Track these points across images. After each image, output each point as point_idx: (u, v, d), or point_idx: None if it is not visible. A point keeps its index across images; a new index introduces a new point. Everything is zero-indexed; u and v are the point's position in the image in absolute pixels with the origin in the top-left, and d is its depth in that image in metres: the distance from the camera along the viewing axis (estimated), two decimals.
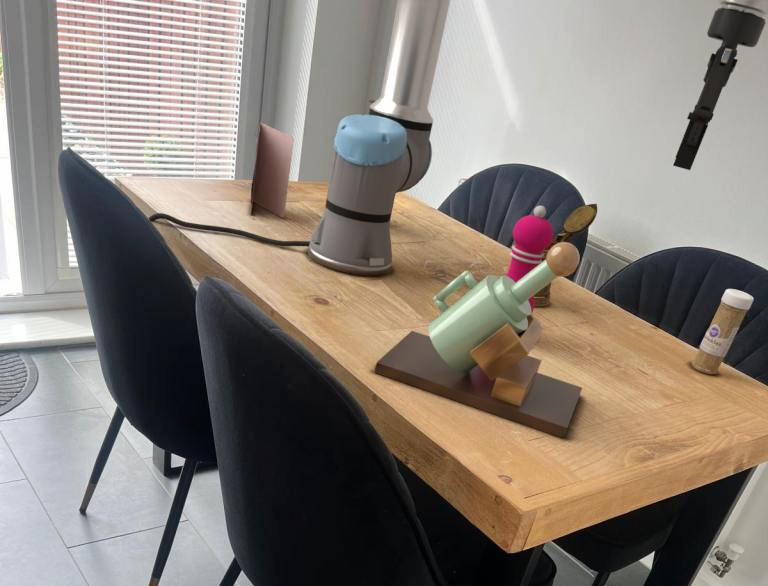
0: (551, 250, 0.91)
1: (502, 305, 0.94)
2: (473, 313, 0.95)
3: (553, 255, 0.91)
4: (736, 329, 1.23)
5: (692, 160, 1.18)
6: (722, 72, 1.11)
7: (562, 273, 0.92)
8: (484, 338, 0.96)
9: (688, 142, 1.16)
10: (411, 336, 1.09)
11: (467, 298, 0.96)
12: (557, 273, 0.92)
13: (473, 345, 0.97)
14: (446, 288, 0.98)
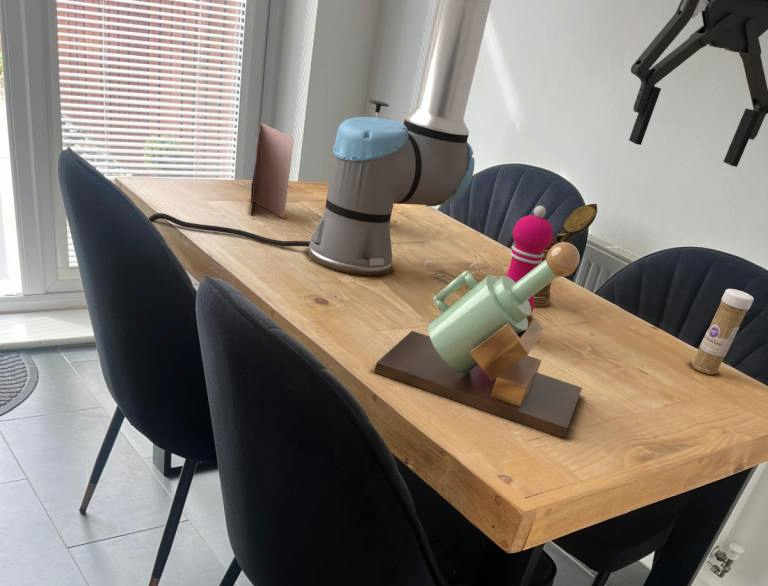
0: (551, 250, 0.91)
1: (502, 305, 0.94)
2: (473, 313, 0.95)
3: (553, 255, 0.91)
4: (736, 329, 1.23)
5: (639, 131, 0.97)
6: (673, 21, 0.91)
7: (562, 273, 0.92)
8: (484, 338, 0.96)
9: (634, 108, 0.96)
10: (411, 336, 1.09)
11: (467, 298, 0.96)
12: (557, 273, 0.92)
13: (473, 345, 0.97)
14: (446, 288, 0.98)
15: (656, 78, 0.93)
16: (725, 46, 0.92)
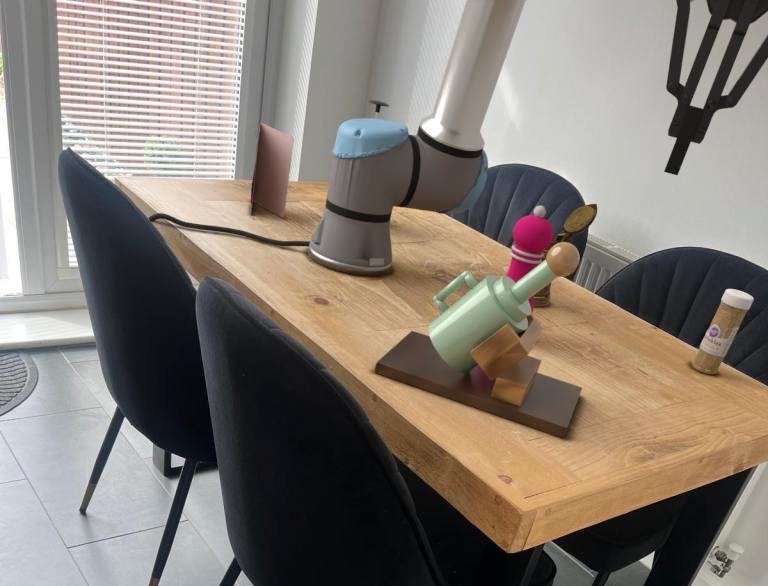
0: (551, 250, 0.91)
1: (502, 305, 0.94)
2: (473, 313, 0.95)
3: (553, 255, 0.91)
4: (736, 329, 1.23)
5: (669, 158, 0.82)
6: None
7: (562, 273, 0.92)
8: (484, 338, 0.96)
9: None
10: (411, 336, 1.09)
11: (467, 298, 0.96)
12: (557, 273, 0.92)
13: (473, 345, 0.97)
14: (446, 288, 0.98)
15: (689, 93, 0.79)
16: (727, 16, 0.75)
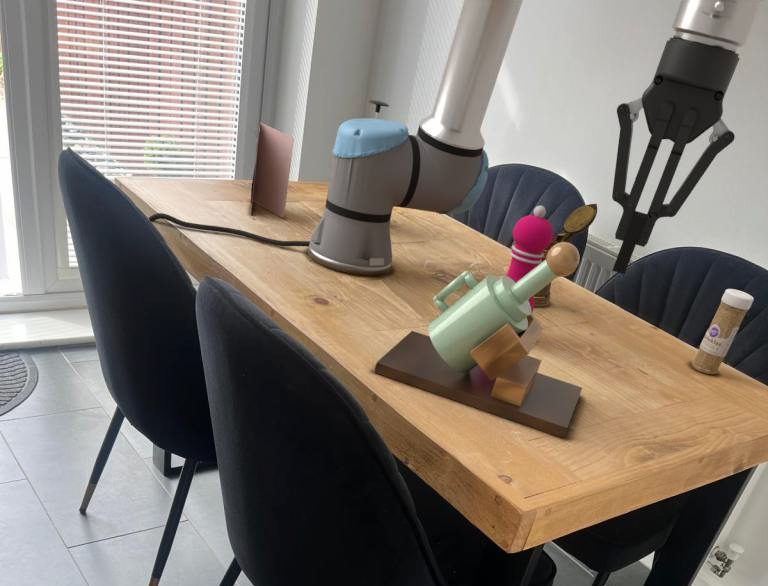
0: (551, 250, 0.91)
1: (502, 305, 0.94)
2: (473, 313, 0.95)
3: (553, 255, 0.91)
4: (736, 329, 1.23)
5: None
6: None
7: (562, 273, 0.92)
8: (484, 338, 0.96)
9: None
10: (411, 336, 1.09)
11: (467, 298, 0.96)
12: (557, 273, 0.92)
13: (473, 345, 0.97)
14: (446, 288, 0.98)
15: (633, 203, 0.86)
16: (665, 137, 0.82)
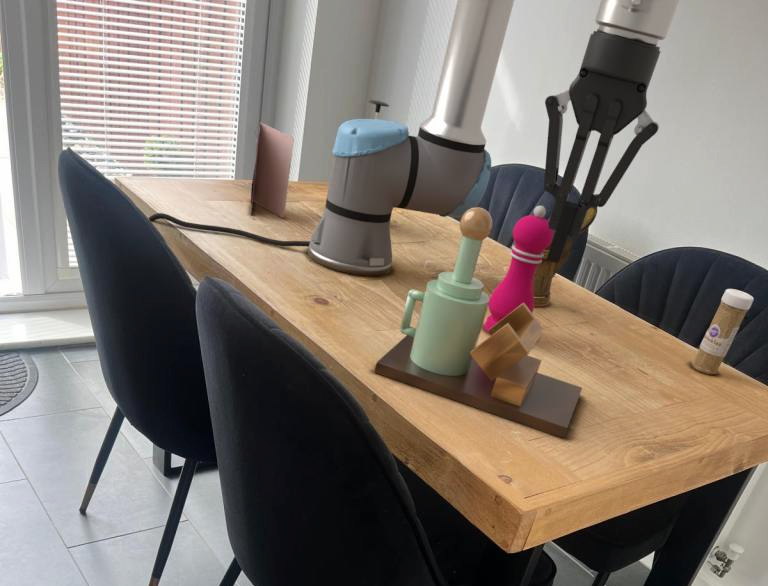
0: (460, 223, 0.93)
1: (450, 294, 0.96)
2: (431, 317, 0.97)
3: (463, 225, 0.93)
4: (736, 329, 1.23)
5: (550, 248, 0.91)
6: None
7: (481, 235, 0.93)
8: (454, 331, 0.97)
9: None
10: None
11: (422, 310, 0.99)
12: (477, 237, 0.93)
13: (449, 344, 0.98)
14: (404, 315, 1.02)
15: (564, 193, 0.88)
16: (592, 129, 0.84)
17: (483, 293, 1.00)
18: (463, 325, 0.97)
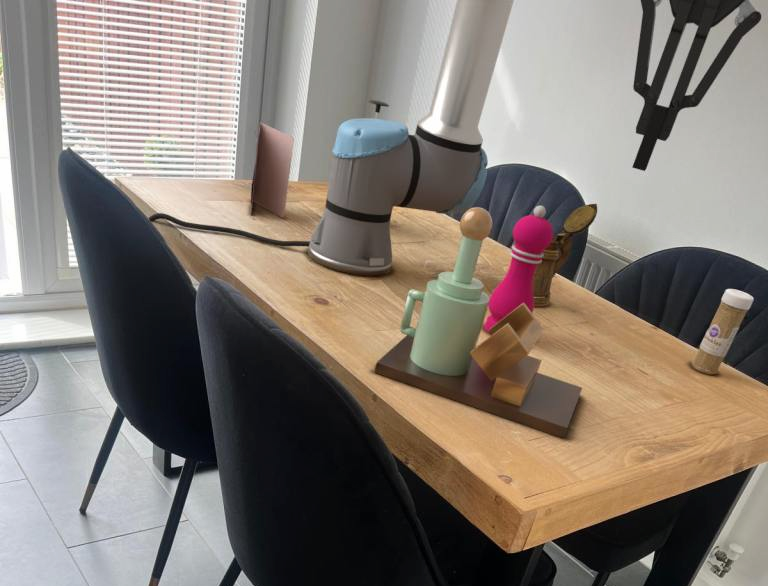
0: (460, 223, 0.93)
1: (450, 294, 0.96)
2: (431, 317, 0.97)
3: (463, 225, 0.93)
4: (736, 329, 1.23)
5: None
6: None
7: (481, 235, 0.93)
8: (454, 331, 0.97)
9: None
10: None
11: (422, 310, 0.99)
12: (477, 237, 0.93)
13: (449, 344, 0.98)
14: (404, 315, 1.02)
15: (654, 93, 0.83)
16: (689, 20, 0.79)
17: (483, 293, 1.00)
18: (463, 325, 0.97)
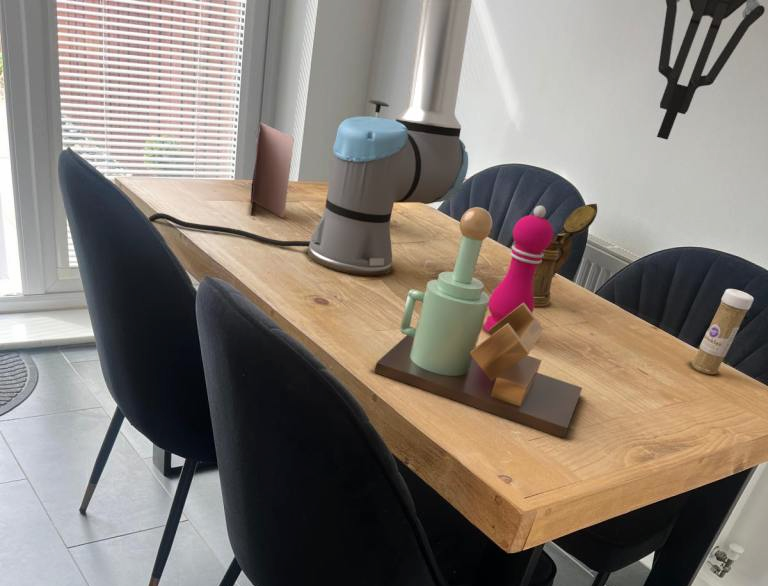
0: (460, 223, 0.93)
1: (450, 294, 0.96)
2: (431, 317, 0.97)
3: (463, 225, 0.93)
4: (736, 329, 1.23)
5: None
6: None
7: (481, 235, 0.93)
8: (454, 331, 0.97)
9: None
10: None
11: (422, 310, 0.99)
12: (477, 237, 0.93)
13: (449, 344, 0.98)
14: (404, 315, 1.02)
15: (676, 74, 1.01)
16: (705, 13, 0.97)
17: (483, 293, 1.00)
18: (463, 325, 0.97)
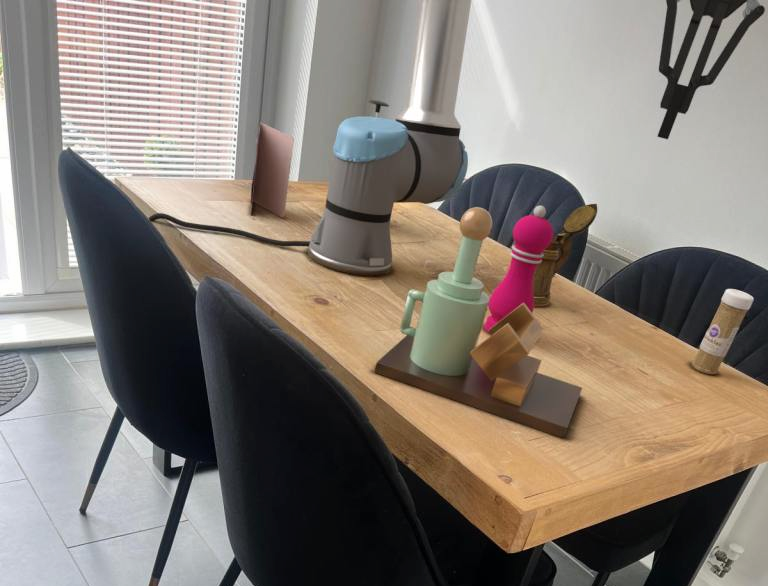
0: (460, 223, 0.93)
1: (450, 294, 0.96)
2: (431, 317, 0.97)
3: (463, 225, 0.93)
4: (736, 329, 1.23)
5: (661, 125, 1.04)
6: None
7: (481, 235, 0.93)
8: (454, 331, 0.97)
9: None
10: None
11: (422, 310, 0.99)
12: (477, 237, 0.93)
13: (449, 344, 0.98)
14: (404, 315, 1.02)
15: (676, 74, 1.01)
16: (706, 13, 0.97)
17: (483, 293, 1.00)
18: (463, 325, 0.97)
